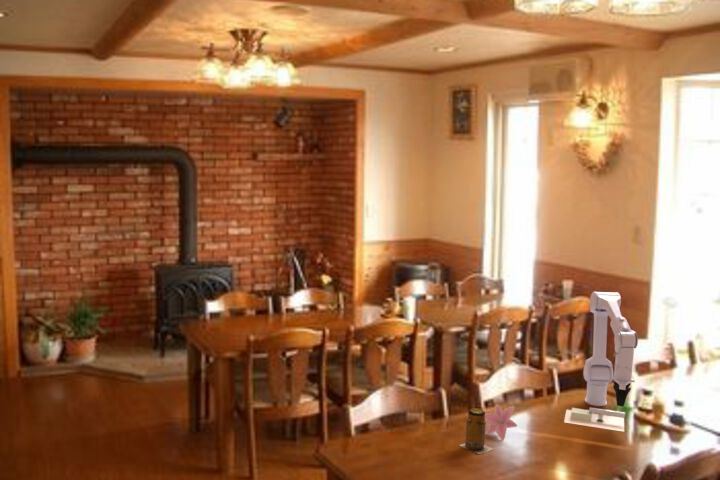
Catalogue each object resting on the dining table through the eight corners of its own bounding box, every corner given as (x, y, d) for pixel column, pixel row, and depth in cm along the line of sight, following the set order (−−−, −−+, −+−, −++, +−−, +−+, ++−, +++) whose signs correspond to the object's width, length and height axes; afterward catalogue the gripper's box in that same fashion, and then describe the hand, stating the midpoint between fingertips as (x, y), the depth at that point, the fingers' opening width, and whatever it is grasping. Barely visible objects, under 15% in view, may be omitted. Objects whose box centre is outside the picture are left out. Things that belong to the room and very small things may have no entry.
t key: (588, 417, 262) (589, 407, 261) (624, 423, 258) (625, 412, 257) (588, 419, 260) (589, 408, 260) (624, 424, 256) (625, 413, 256)
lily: (478, 429, 252) (474, 410, 247) (506, 414, 255) (503, 395, 250) (497, 452, 243) (494, 433, 237) (527, 436, 246) (525, 417, 240)
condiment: (474, 440, 240) (476, 405, 238) (494, 449, 233) (496, 413, 232) (458, 445, 235) (460, 409, 234) (478, 455, 229) (481, 418, 227)
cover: (571, 414, 265) (571, 407, 265) (591, 417, 263) (592, 410, 263) (570, 418, 261) (571, 412, 260) (591, 422, 258) (591, 415, 258)
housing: (566, 412, 270) (566, 409, 270) (623, 420, 264) (623, 417, 264) (563, 425, 257) (564, 422, 257) (624, 434, 251) (624, 431, 251)
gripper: (636, 373, 244) (633, 412, 245) (635, 361, 257) (632, 399, 259) (614, 370, 246) (610, 409, 248) (614, 359, 260) (611, 396, 261)
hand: (620, 403), depth 253 cm, fingers open, 4 cm apart
